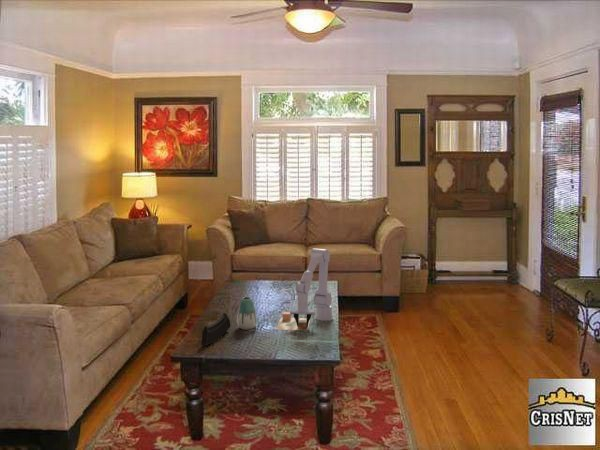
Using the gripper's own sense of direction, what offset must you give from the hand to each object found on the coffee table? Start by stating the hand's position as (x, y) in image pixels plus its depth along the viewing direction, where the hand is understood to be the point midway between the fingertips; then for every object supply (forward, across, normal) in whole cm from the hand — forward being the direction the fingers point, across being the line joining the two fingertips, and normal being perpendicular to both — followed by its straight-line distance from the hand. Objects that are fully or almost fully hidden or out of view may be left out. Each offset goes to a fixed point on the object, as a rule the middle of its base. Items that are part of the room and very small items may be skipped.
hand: (302, 326), depth 347 cm
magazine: (+2, -45, -20) cm, 49 cm away
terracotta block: (+1, -11, +16) cm, 19 cm away
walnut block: (+1, 0, 0) cm, 1 cm away
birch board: (+2, -6, +8) cm, 10 cm away
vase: (+2, -32, 0) cm, 32 cm away
